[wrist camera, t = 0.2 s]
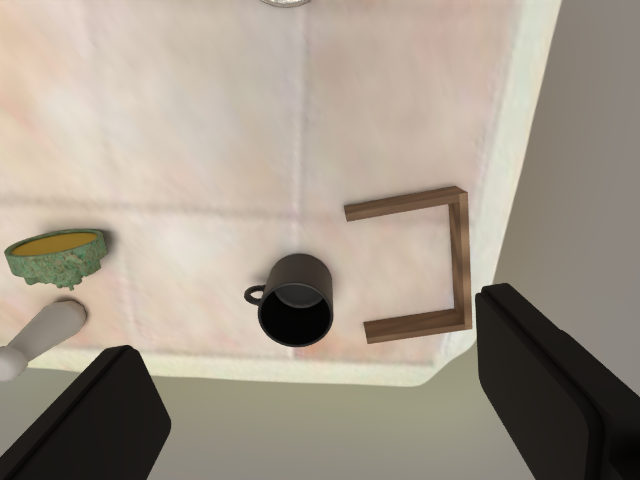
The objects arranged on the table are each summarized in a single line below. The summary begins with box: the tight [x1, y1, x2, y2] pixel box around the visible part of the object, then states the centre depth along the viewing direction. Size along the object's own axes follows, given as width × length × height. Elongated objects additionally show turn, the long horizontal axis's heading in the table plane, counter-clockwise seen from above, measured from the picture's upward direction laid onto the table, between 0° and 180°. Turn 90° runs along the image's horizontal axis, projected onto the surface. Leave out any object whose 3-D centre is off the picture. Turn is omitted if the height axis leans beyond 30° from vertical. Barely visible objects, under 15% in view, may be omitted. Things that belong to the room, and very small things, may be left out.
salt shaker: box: [0, 300, 86, 381], centre depth 45 cm, size 6×6×13 cm
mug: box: [244, 254, 333, 347], centre depth 45 cm, size 9×12×9 cm
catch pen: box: [344, 186, 472, 344], centre depth 46 cm, size 20×15×4 cm
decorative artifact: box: [4, 229, 107, 291], centre depth 43 cm, size 10×7×10 cm
